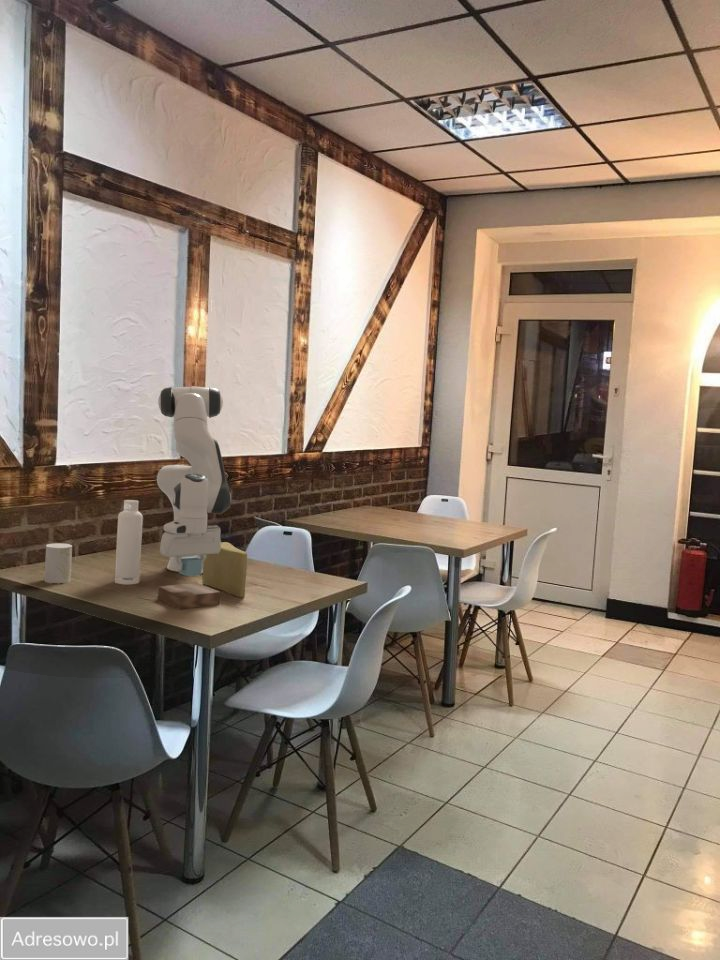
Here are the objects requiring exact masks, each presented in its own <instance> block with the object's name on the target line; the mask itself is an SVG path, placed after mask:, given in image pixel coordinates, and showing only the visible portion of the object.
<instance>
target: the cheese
mask: <svg viewBox="0 0 720 960" xmlns="http://www.w3.org/2000/svg"><path fill="white" fill-rule="evenodd" d="M247 564H248V553H247V552H246V551H244V550H241V549H240V548H237V547H235V546H234V545H233V544H232V543H230V542H227V541H224V542H223V541H221V551H220V552H219V553H218V554H206V559H205V561H204V563H203V573H202V583H201V584H202V585H204V586H207V587H210V588H213V589H216V590H220V591H223V592H225V593H227V594H230V595H232V596H235V597H238V598H244V597H245V595H246V579H247V569H248V567H247V566H248V565H247Z"/></svg>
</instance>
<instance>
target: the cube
mask: <svg viewBox="0 0 720 960" xmlns="http://www.w3.org/2000/svg"><path fill="white" fill-rule="evenodd" d="M181 562H182V564H185V567H184V568H185V569H184V570H179V572H178V574H180V575H183V576H185V577H192V576H193V577H194V576H202V573H201V565H202V559H199V558H196V557H182V560H181Z"/></svg>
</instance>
